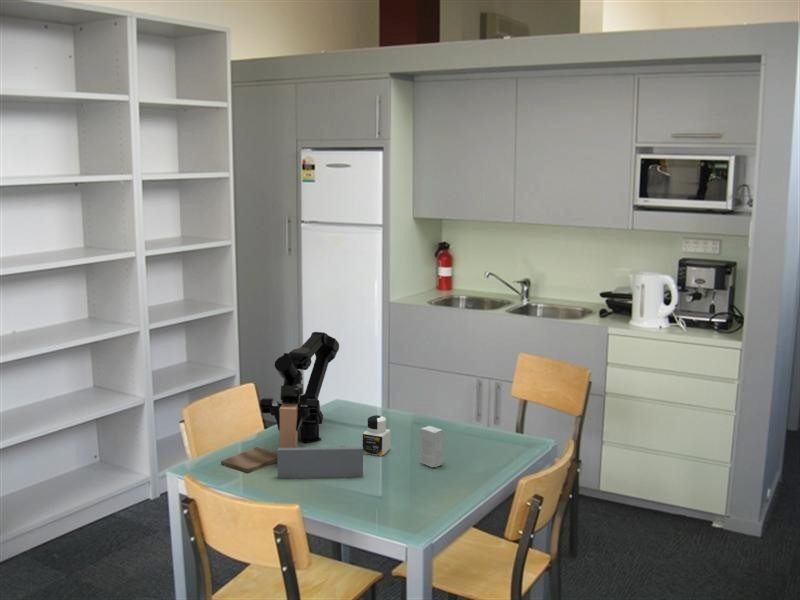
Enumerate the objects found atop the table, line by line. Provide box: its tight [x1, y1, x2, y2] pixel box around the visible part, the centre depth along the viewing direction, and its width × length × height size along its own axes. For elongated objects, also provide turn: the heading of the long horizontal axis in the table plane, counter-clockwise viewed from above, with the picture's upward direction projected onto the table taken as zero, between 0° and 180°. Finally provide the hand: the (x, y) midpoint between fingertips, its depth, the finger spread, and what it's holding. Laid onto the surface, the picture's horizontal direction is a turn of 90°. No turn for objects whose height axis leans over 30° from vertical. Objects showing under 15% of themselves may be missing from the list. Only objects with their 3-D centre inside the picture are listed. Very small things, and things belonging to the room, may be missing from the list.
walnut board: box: [220, 447, 277, 474], centre depth 271 cm, size 16×12×1 cm
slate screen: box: [276, 446, 364, 479], centre depth 261 cm, size 6×26×9 cm, turn 95°
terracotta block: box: [279, 404, 299, 448], centre depth 266 cm, size 5×5×14 cm
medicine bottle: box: [362, 414, 391, 457], centre depth 281 cm, size 7×7×12 cm
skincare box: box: [419, 425, 444, 466], centre depth 270 cm, size 6×4×12 cm
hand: (287, 430), depth 265 cm, fingers closed on terracotta block, 5 cm apart
